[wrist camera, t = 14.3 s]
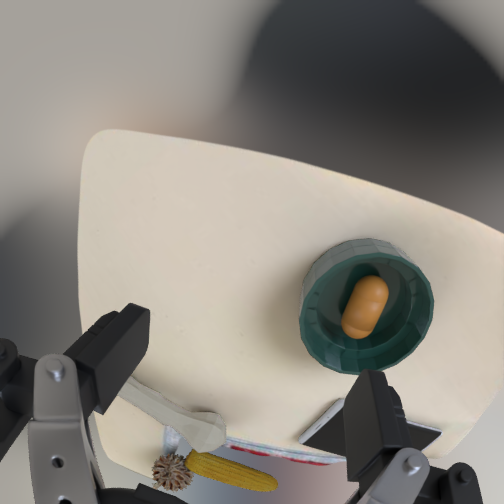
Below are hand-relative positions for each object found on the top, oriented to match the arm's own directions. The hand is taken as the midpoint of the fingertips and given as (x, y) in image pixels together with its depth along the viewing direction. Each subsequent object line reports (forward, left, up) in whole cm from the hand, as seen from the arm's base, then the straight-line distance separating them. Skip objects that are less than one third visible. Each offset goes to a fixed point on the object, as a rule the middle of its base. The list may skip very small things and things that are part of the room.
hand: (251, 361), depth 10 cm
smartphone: (+15, +41, -27) cm, 52 cm away
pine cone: (+58, +24, -27) cm, 69 cm away
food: (+43, +31, -27) cm, 60 cm away
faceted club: (+37, +9, -27) cm, 46 cm away
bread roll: (0, +14, -26) cm, 30 cm away
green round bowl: (0, +14, -27) cm, 30 cm away
